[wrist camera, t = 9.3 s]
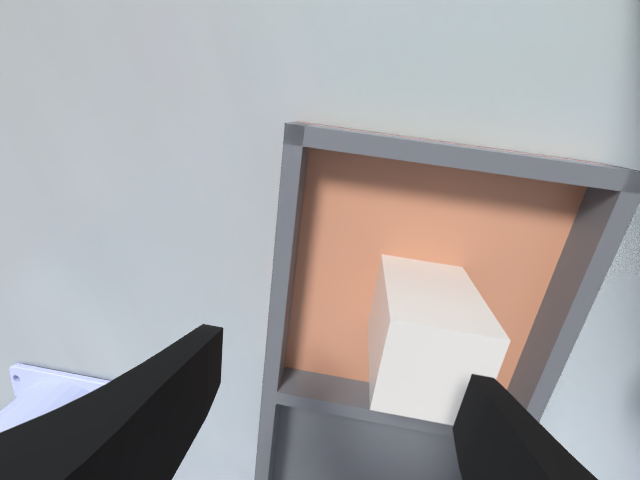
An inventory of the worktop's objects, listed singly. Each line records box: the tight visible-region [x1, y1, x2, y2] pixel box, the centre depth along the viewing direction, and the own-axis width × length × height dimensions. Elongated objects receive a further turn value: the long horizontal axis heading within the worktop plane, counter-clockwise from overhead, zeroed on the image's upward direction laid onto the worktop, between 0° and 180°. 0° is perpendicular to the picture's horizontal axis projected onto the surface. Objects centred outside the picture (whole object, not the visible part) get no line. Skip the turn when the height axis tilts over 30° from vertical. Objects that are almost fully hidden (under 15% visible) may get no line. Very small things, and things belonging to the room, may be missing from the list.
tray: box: [255, 122, 640, 480], centre depth 20 cm, size 28×14×3 cm, turn 173°
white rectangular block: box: [368, 254, 511, 425], centre depth 15 cm, size 4×4×6 cm
